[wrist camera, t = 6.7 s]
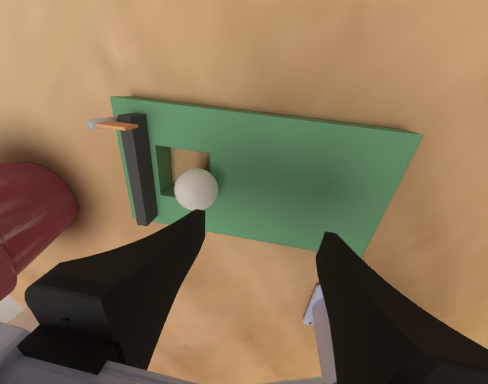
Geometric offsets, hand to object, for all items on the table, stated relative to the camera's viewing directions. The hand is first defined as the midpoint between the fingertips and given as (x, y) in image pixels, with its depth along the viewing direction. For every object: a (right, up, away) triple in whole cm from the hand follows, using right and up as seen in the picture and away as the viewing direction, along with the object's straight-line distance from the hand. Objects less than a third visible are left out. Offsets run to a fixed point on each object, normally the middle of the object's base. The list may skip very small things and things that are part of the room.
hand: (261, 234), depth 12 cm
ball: (-5, +3, +5) cm, 7 cm away
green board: (0, +4, +8) cm, 9 cm away
